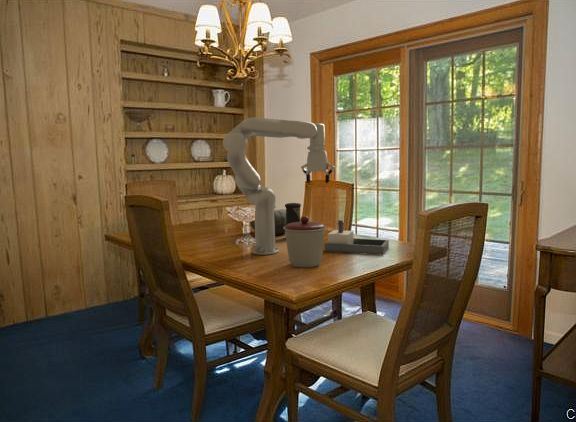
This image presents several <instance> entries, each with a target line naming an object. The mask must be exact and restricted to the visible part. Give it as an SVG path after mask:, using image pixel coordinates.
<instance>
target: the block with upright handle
mask: <svg viewBox="0 0 576 422" xmlns="http://www.w3.org/2000/svg"><path fill="white" fill-rule="evenodd" d="M337 222H338V223H337V225H338V226H337V227H338V228H337V229H333V230H332V231H330V232H329V233H327V243H339V244H353V238H354V230H344V220H343V219H338V221H337Z"/></svg>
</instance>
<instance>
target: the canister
mask: <svg viewBox="0 0 576 422" xmlns="http://www.w3.org/2000/svg"><path fill="white" fill-rule="evenodd" d="M300 218H301V222H294V223H289V224H287V225H286V226H285V227H283V228H284V230H285V232H284V233H285V239H286V247H287V253H288V254H287V255H288V260H289V263H290V264H291V266H293V267H295V268H304V269H307V268H309V269H310V268H313V267H314V268H315V267H317V266H319V265H320V264H321V262H322V259H323V253H324V252H323V251H324V244H325V243H324V242H325V230H326V229H327V226H326V225H324V224H323V223H322V222H318V221H317V222H316V221H310V219H309V217H308V215H307V216H306V215H303V216H300Z"/></svg>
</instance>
